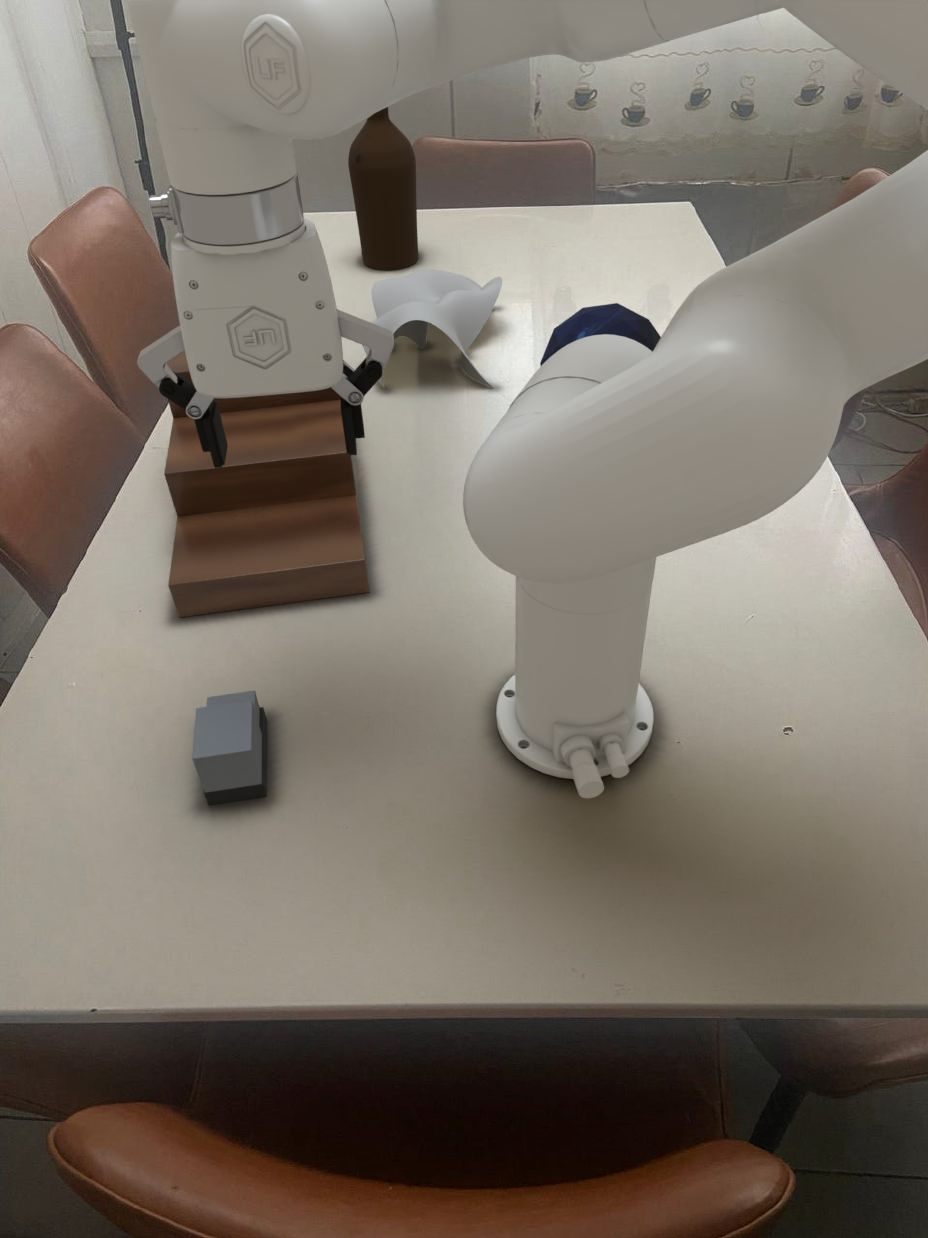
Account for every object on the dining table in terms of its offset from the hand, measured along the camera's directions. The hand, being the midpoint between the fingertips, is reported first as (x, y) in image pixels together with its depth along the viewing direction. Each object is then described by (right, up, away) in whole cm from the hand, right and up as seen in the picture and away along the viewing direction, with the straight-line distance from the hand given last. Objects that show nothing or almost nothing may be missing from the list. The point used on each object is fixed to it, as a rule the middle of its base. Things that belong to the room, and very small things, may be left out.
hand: (286, 451), depth 66 cm
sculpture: (+9, +26, +59) cm, 65 cm away
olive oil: (+1, +48, +84) cm, 97 cm away
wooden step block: (-7, 0, +31) cm, 32 cm away
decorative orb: (+30, +11, +41) cm, 52 cm away
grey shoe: (-5, -24, +5) cm, 24 cm away
